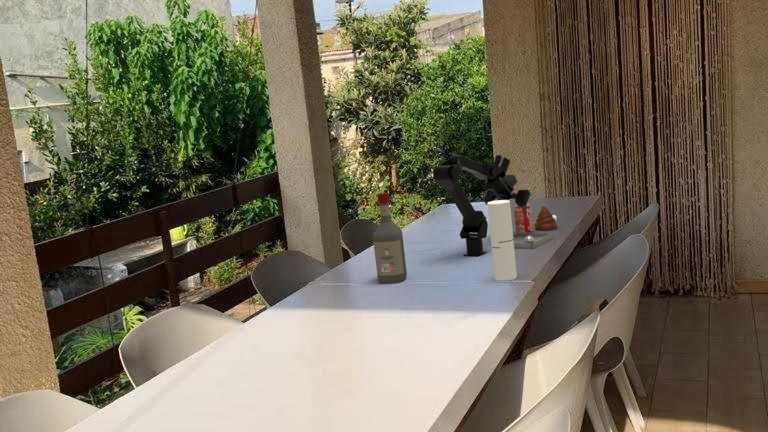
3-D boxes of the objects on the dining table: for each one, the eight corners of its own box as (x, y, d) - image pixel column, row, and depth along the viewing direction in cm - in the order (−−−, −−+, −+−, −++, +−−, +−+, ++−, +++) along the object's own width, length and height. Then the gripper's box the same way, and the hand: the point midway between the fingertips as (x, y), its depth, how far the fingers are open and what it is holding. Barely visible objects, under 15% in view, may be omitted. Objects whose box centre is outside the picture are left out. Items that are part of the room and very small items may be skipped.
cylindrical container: (516, 280, 272) (509, 203, 268) (493, 281, 274) (486, 204, 270) (517, 274, 279) (510, 199, 275) (495, 275, 280) (488, 201, 276)
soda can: (533, 231, 344) (530, 202, 342) (534, 235, 337) (532, 205, 335) (515, 233, 345) (513, 204, 343) (516, 237, 338) (514, 207, 336)
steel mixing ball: (531, 246, 316) (531, 236, 315) (523, 245, 318) (522, 236, 317) (536, 243, 318) (535, 234, 318) (527, 243, 321) (526, 234, 320)
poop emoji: (530, 229, 351) (528, 206, 349) (547, 225, 354) (545, 203, 353) (544, 232, 342) (542, 209, 340) (562, 228, 345) (560, 205, 344)
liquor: (403, 282, 286) (393, 194, 281) (377, 284, 288) (366, 196, 283) (408, 276, 294) (398, 190, 290) (382, 277, 296) (372, 192, 292)
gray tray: (532, 248, 314) (532, 243, 313) (494, 247, 323) (494, 242, 323) (553, 238, 328) (553, 233, 328) (516, 237, 337) (516, 232, 337)
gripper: (525, 168, 323) (543, 192, 333) (484, 169, 335) (503, 192, 345) (516, 193, 319) (534, 216, 329) (475, 193, 331) (494, 215, 341)
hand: (516, 208), depth 336 cm, fingers open, 9 cm apart
